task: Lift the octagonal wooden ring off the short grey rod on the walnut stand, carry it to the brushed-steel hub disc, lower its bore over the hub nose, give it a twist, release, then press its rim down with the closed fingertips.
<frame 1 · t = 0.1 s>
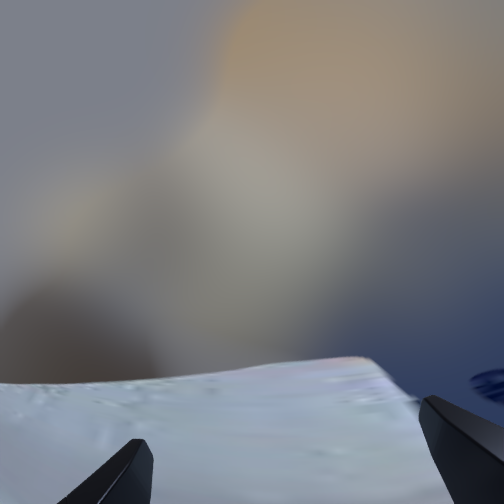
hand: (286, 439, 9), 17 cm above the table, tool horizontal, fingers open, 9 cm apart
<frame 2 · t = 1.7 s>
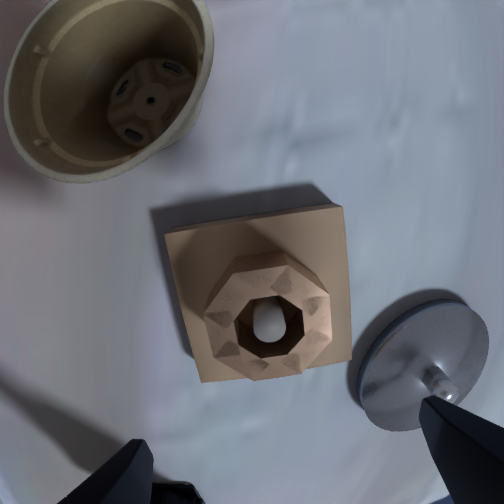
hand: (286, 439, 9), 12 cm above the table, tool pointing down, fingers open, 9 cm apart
flower pot: (152, 103, 18), on the table
stand: (264, 292, 21), on the table
octagonal wooden ring: (266, 304, 19), point 2 cm above the table, touching stand
hub: (424, 366, 23), on the table
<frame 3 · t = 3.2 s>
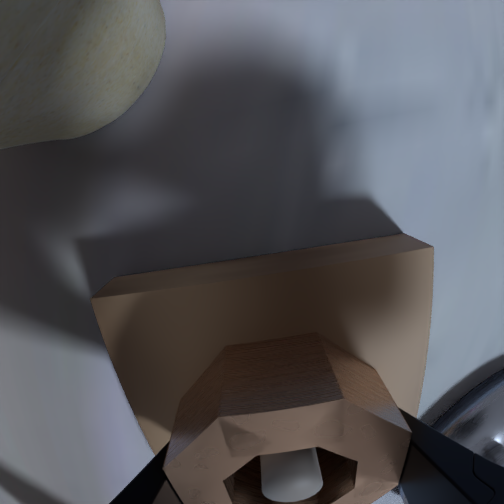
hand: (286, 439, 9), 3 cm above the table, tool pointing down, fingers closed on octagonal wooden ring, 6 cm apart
flower pot: (84, 57, 9), on the table
stand: (278, 382, 12), on the table
octagonal wooden ring: (283, 417, 10), point 2 cm above the table, touching gripper, stand
hub: (481, 441, 13), on the table
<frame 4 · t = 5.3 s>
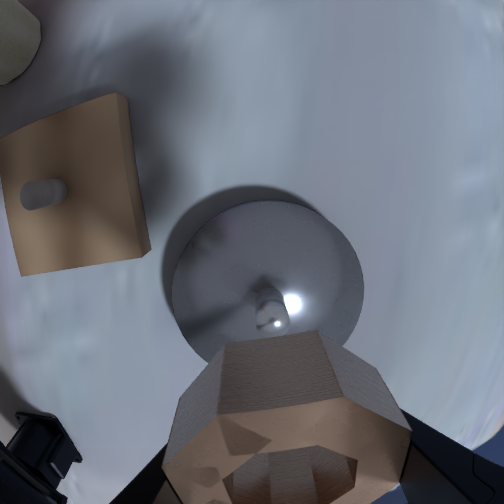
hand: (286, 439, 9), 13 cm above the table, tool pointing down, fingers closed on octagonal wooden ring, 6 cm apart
flower pot: (14, 50, 16), on the table
stand: (72, 188, 19), on the table
octagonal wooden ring: (282, 416, 10), point 12 cm above the table, touching gripper
hub: (268, 293, 21), on the table
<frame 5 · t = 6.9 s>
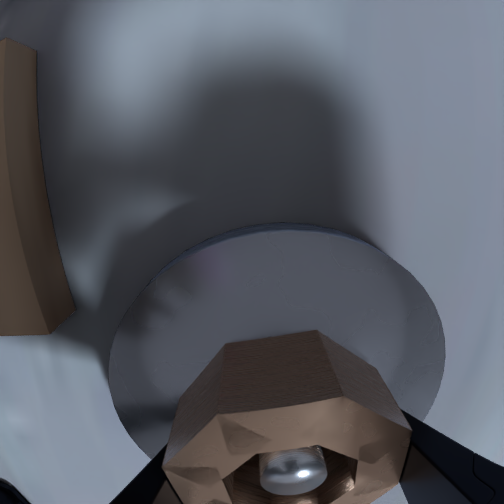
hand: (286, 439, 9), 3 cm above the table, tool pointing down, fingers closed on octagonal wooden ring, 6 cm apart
octagonal wooden ring: (282, 415, 10), point 2 cm above the table, touching gripper
hub: (280, 384, 11), on the table
when the fingers open (2 cm above the table, at t = 7.8 s): octagonal wooden ring stays where it is, resting on hub.
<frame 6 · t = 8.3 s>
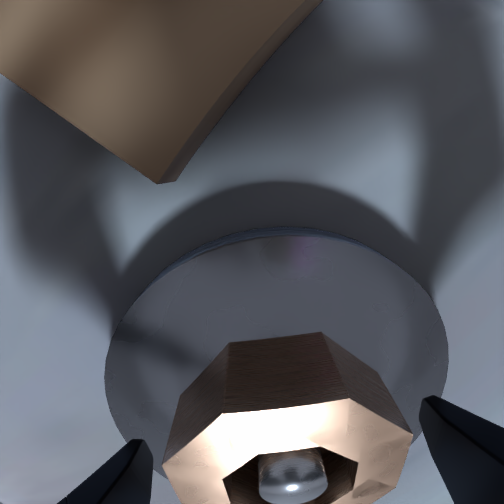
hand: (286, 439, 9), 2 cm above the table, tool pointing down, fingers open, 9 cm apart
octagonal wooden ring: (282, 416, 10), point 1 cm above the table, touching hub
hub: (280, 391, 11), on the table
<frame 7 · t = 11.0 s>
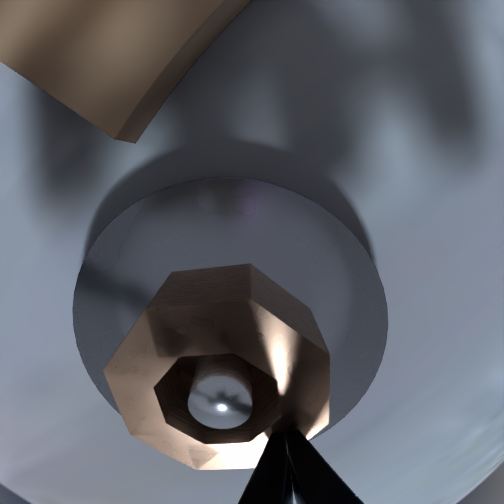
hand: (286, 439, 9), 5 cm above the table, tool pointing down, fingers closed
octagonal wooden ring: (224, 350, 11), point 1 cm above the table, touching hub
hub: (228, 333, 13), on the table
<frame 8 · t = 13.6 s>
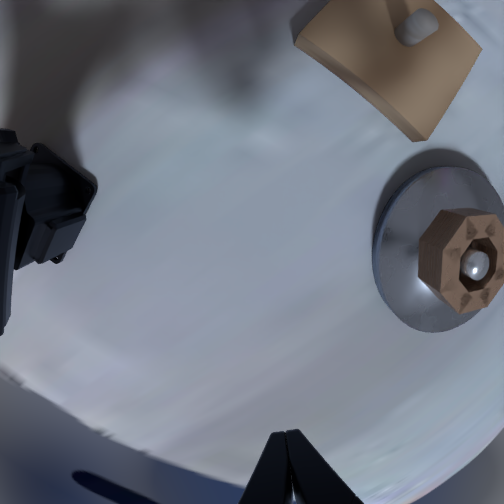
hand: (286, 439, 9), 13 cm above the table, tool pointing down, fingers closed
stand: (393, 45, 17), on the table
octagonal wooden ring: (454, 253, 19), point 1 cm above the table, touching hub
hub: (443, 249, 21), on the table
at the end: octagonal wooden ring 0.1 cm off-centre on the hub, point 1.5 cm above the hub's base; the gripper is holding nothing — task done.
